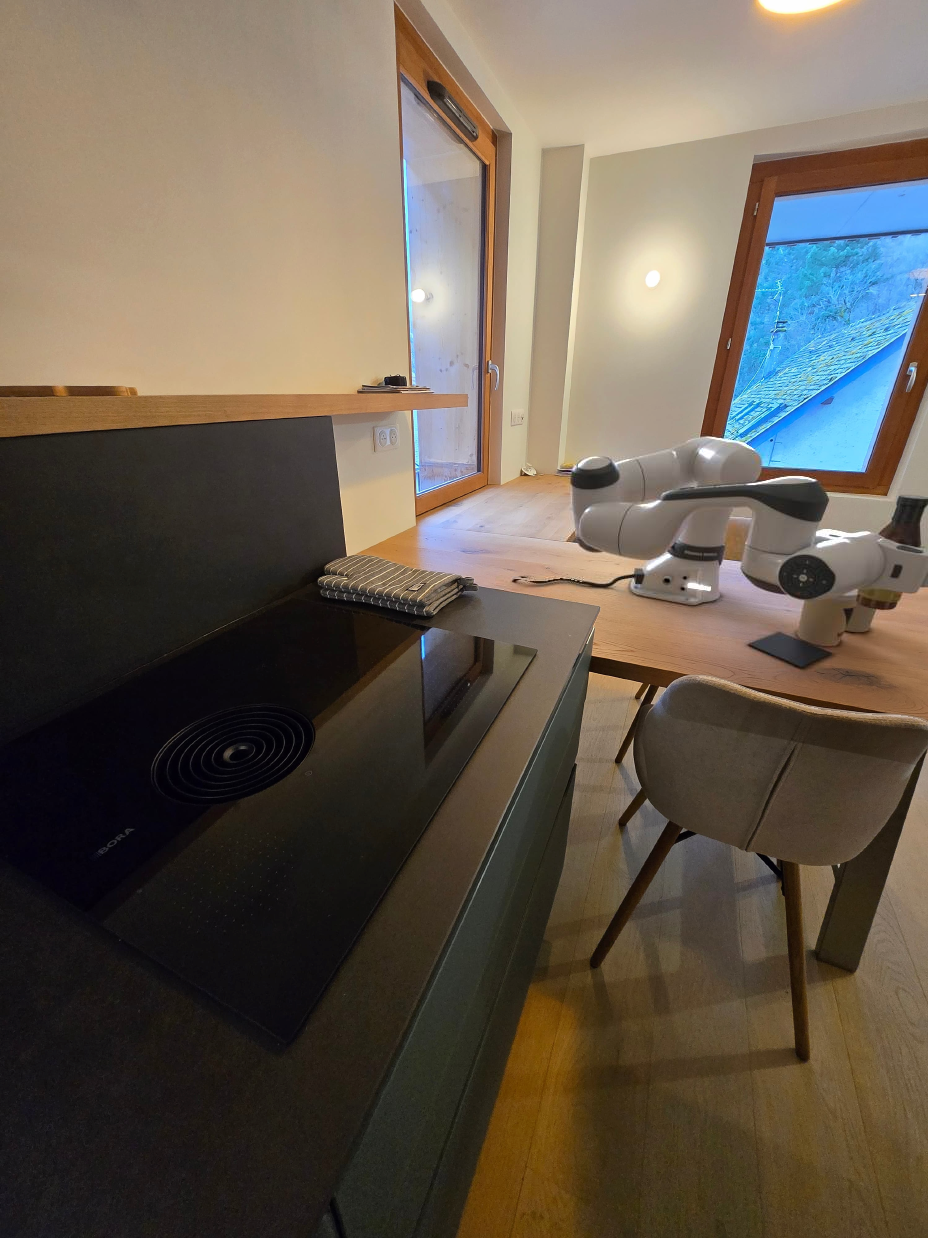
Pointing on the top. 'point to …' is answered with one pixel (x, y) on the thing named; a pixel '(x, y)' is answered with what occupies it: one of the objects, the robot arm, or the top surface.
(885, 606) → the sauce bottle
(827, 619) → the coffee cup
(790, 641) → the coaster
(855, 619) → the travel mug
